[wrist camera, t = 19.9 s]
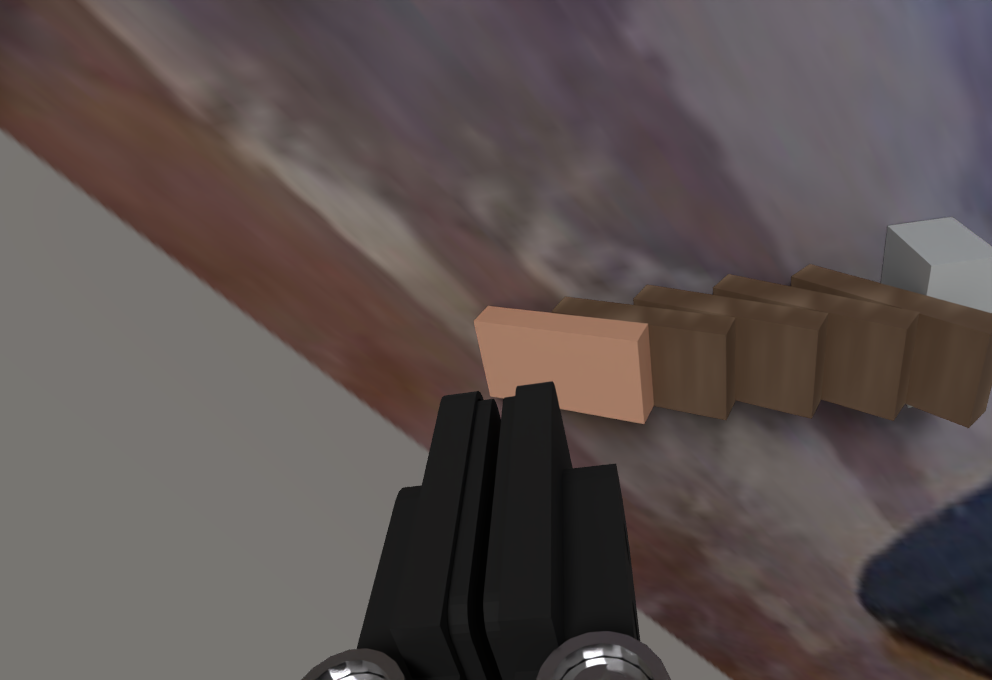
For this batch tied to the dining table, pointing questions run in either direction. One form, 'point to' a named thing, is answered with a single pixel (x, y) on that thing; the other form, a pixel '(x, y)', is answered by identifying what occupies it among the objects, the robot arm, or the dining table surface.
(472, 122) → the dining table surface
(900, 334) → the domino
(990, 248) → the block
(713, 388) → the domino
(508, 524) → the robot arm
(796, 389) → the domino
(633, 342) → the domino
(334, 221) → the dining table surface
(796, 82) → the dining table surface
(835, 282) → the domino
